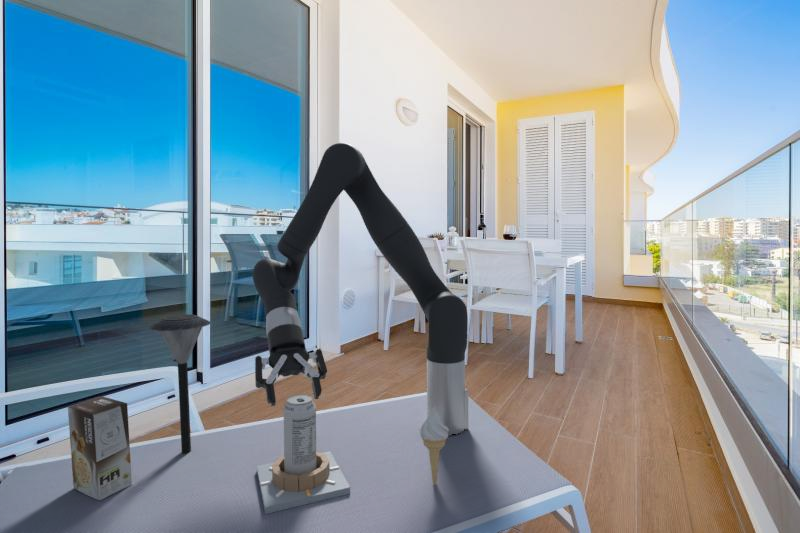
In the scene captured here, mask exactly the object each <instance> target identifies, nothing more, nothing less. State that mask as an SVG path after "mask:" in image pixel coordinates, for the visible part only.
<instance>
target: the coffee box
mask: <svg viewBox="0 0 800 533" xmlns="http://www.w3.org/2000/svg"><path fill="white" fill-rule="evenodd" d="M128 413H129V412H128V402H124V401H120V400H116V399H114V398H113V399H112V398H111V397H110V398H109V397H105V396H102V395H101V396H97V397H93V398H90V399H86V400H84V401H80V402H78V403H76V404H72V405H68V406H67V414H68V428H69V441H70V442H69V443H70V455H71V456H70V457H71V469H72V484H73V489H74V490H75V489H76V490H75V491H77V490H78V491H77V492H80V493H82V494H84V495H86V496H88V497H89V498H90V497H91V498H92V499H95V500H97V501H102V500H104V499H105V498H108V497H109V496H112V495H114V494H116V493H118V492H119V491H122V490H123V489H125V488H128V487H130V486H132V484H133V482H132V481H133V480H132V466H131V465H132V464H131V463H132V462H131V449H130V448H131V447H130V446H131V444H130V429H129V426H130V425H129V414H128Z"/></svg>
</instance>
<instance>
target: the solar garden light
mask: <svg viewBox="0 0 800 533" xmlns="http://www.w3.org/2000/svg"><path fill="white" fill-rule="evenodd" d="M210 324H211V325H212V322H211V321H210V320H208V319H205V318H203V317H202V316H199V315H196V314H186V313H185V314H177V315H176V314H175V315H168V316H165V317H163V318H162V319H159V320H158V321H157V322H154V324H152V325H150V326H149V327H148V329H149V331H154V332H159V333H160V336H161V337H162V339H163V340H164V341H165V344H166V345H167V347H168V349H169V351H170V352H171V354H172V356H173V358H174V360H175V361H176V363H177V373H178V375H177V376H178V377H177V378H178V381H177V382H178V398H179V421H180V423H179V424H180V443H181V444H180V445H181V446H180V447H181V453H182V454H188V453H190V452H191V451H192V444H191V442H192V439H191V423H190V421H191V420H190V419H191V418H190V400H189V398H190V396H189V393H190V392H189V373H188V361H189V360H190V356H191V354H192V352H193V349H194V347H195V345H196V343H197V341H198V338H199V336H200V333H201V331H202V328H203V327H207V326H209V325H210Z"/></svg>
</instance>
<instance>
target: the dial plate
mask: <svg viewBox="0 0 800 533" xmlns="http://www.w3.org/2000/svg"><path fill="white" fill-rule="evenodd" d="M334 457H335V456H334V455H333V454H332V452H331V451H324V452H320V451H317V450H316V470H314V471H312V472H310V473H305V474H301V475H293V474H286V473H284V455H282V456H280V457H279V458H277V459H276V460H274V462H271V463H265V464H260V465H256V475H257V479H258V484H259V489H260V493H261V499H262V503H263V510H264V514H265V515H267V514H271V513H275V512H280V511H283V510H287V509H288V510H289V509H292V508H297V507H301V506H304V505H308V504H313V503H316V502H320V501H321V502H322V501H325V500H330V499H334V498H336V497H337V498H338V497H340V496H341V497H342V496H345V495H350V494H351V486H350V484H349V483H348V480H347V479H346V477H345V475H344V474H343V472H342V470H341V468H340V466H339V465H338V462H337V461H336V459H335V458H334Z"/></svg>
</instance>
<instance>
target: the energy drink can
mask: <svg viewBox="0 0 800 533" xmlns="http://www.w3.org/2000/svg"><path fill="white" fill-rule="evenodd" d="M313 398H314V397H313V396H312V395H309V394H295V395H291V396H289V397H287V398H286V403H285V405H284V407H283V456H284V473H286V474H293V475H301V474H305V473H310V472H312V471H314V470H316V451H317V405H316V404H315V402H314V401H313V400H314V399H313Z"/></svg>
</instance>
